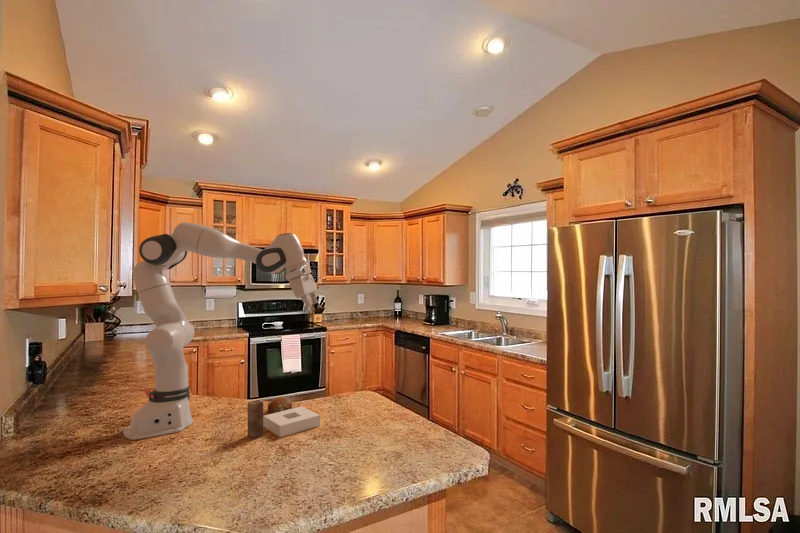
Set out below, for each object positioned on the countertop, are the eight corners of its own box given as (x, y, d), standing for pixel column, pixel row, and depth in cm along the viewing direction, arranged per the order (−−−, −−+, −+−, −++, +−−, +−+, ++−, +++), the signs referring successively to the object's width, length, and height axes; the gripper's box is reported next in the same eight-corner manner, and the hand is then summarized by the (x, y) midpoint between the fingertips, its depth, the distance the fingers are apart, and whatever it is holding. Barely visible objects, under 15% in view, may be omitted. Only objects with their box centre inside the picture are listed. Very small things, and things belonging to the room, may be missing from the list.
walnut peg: (252, 439, 146) (252, 404, 146) (247, 436, 149) (247, 402, 149) (263, 436, 148) (263, 402, 148) (258, 433, 151) (258, 399, 151)
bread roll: (294, 418, 177) (296, 398, 180) (286, 415, 167) (289, 394, 171) (271, 417, 178) (274, 398, 181) (262, 414, 168) (265, 394, 172)
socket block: (280, 437, 147) (280, 425, 147) (263, 426, 158) (263, 415, 158) (320, 425, 158) (320, 415, 158) (301, 416, 168) (301, 406, 168)
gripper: (299, 273, 175) (311, 304, 175) (283, 276, 155) (297, 311, 155) (313, 268, 175) (325, 299, 175) (299, 270, 154) (313, 306, 154)
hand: (312, 305), depth 165 cm, fingers open, 8 cm apart
